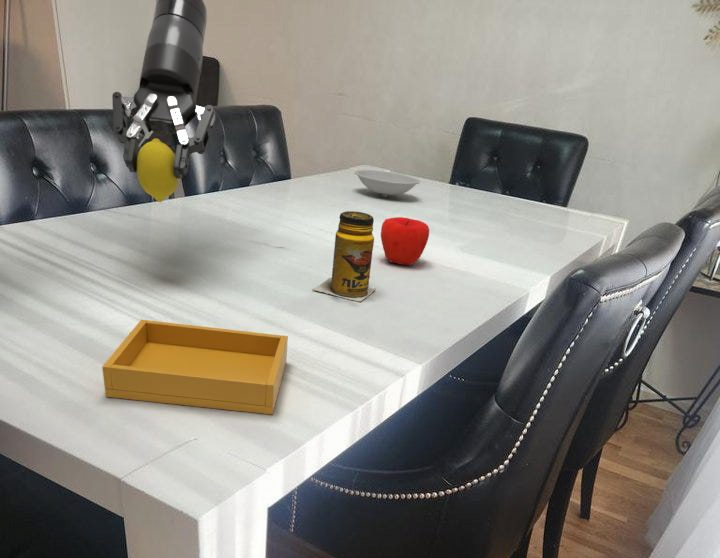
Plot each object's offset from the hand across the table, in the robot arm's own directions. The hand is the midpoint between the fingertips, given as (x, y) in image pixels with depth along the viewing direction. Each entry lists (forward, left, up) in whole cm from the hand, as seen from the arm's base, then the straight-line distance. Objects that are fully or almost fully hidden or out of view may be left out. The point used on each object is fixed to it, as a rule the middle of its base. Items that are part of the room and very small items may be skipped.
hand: (154, 171), depth 87 cm
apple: (+37, +30, -17) cm, 50 cm away
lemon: (0, +2, -4) cm, 5 cm away
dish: (+35, +92, -17) cm, 100 cm away
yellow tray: (+12, -27, -16) cm, 34 cm away
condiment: (+27, +10, -17) cm, 33 cm away
